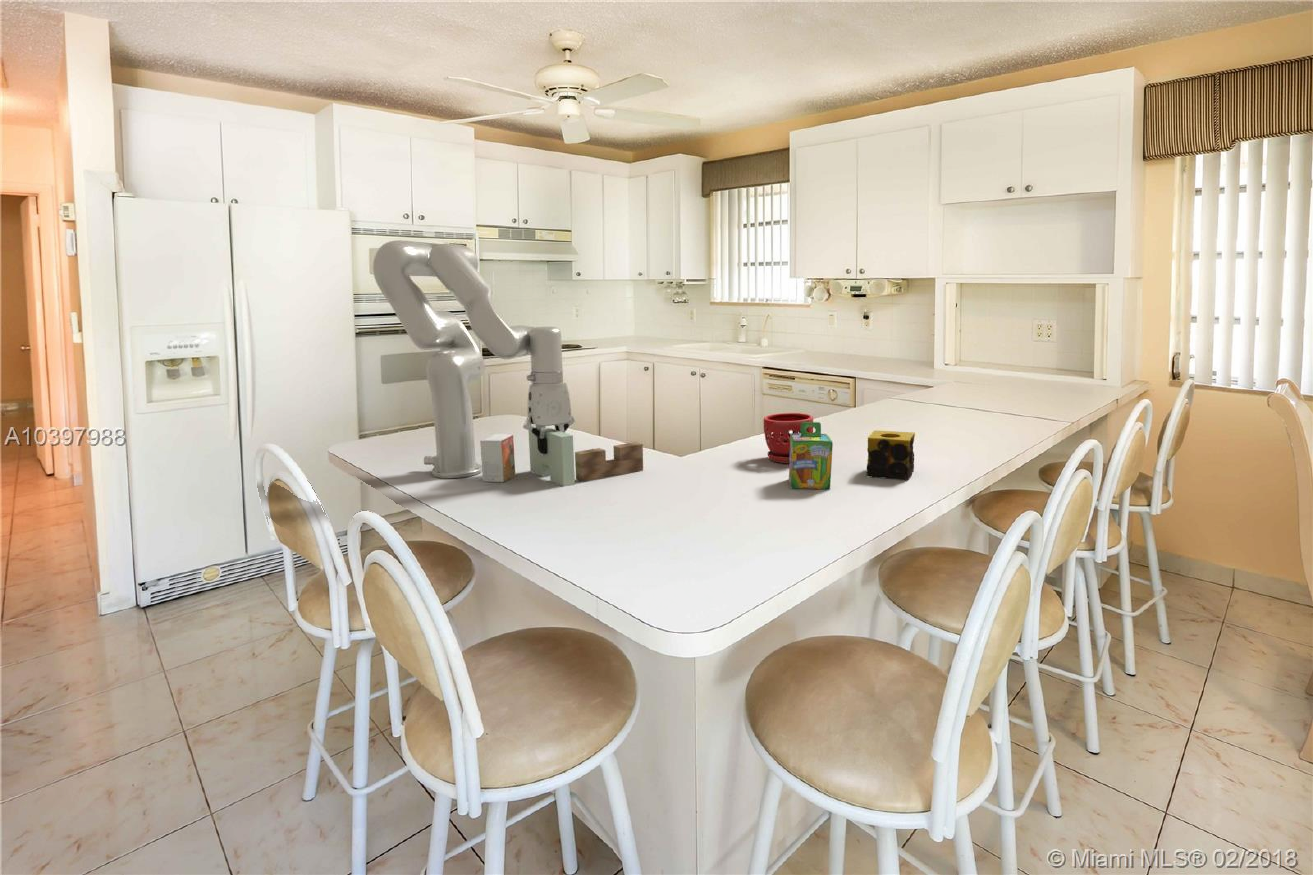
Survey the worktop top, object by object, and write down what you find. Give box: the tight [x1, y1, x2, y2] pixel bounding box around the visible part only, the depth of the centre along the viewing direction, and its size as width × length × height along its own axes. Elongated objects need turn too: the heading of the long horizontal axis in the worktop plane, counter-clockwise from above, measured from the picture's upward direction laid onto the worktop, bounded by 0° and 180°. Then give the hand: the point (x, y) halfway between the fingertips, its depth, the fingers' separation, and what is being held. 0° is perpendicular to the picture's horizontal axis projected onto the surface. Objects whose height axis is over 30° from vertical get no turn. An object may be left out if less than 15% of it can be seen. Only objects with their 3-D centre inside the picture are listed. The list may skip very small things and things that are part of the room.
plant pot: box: [763, 412, 814, 465], centre depth 198 cm, size 13×13×12 cm
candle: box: [866, 430, 916, 481], centre depth 182 cm, size 10×10×10 cm
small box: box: [479, 433, 516, 483], centre depth 184 cm, size 8×6×10 cm
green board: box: [527, 424, 576, 487], centre depth 183 cm, size 18×3×12 cm, turn 35°
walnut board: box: [574, 441, 644, 483], centre depth 185 cm, size 18×3×7 cm, turn 125°
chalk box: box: [788, 421, 834, 490], centre depth 173 cm, size 9×9×15 cm
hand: (550, 451), depth 183 cm, fingers open, 3 cm apart
